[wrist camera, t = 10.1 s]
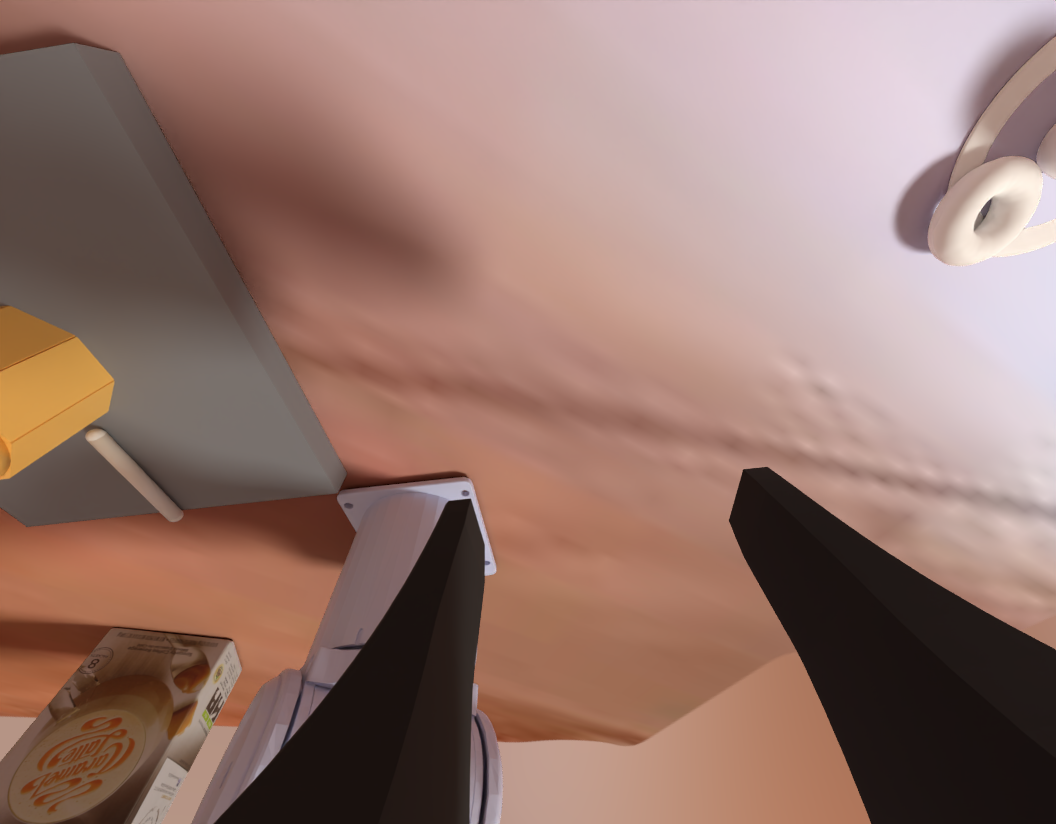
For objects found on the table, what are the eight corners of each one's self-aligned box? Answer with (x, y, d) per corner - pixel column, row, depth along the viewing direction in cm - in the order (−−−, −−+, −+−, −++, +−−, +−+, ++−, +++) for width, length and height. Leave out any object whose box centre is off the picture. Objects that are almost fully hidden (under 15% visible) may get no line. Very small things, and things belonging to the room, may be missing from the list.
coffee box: (234, 637, 33) (49, 970, 20) (243, 669, 36) (91, 970, 23) (108, 625, 31) (-188, 982, 18) (130, 660, 34) (-103, 979, 21)
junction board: (349, 478, 22) (335, 507, 21) (57, 510, 23) (19, 541, 21) (119, 52, 12) (48, 37, 10) (-406, 137, 13) (-557, 137, 11)
